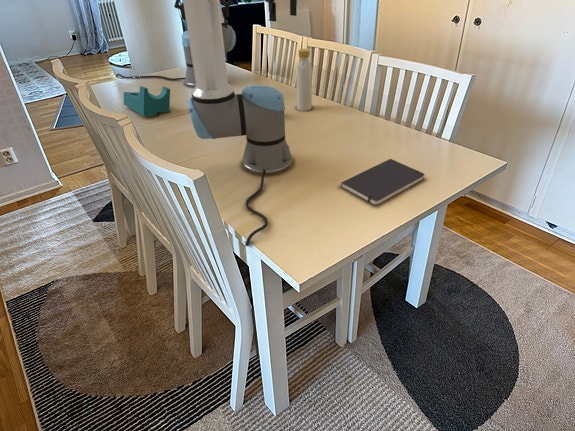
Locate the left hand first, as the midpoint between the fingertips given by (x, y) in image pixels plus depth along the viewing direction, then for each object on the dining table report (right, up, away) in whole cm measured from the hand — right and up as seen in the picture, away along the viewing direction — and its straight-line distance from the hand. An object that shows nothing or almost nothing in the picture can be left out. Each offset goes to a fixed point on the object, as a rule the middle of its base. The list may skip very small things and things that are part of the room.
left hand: (283, 18), depth 162 cm
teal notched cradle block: (-55, -36, +4) cm, 66 cm away
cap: (+8, -18, -12) cm, 23 cm away
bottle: (+8, -36, +1) cm, 37 cm away
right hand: (-27, -12, -16) cm, 34 cm away
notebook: (+29, -70, -47) cm, 89 cm away
